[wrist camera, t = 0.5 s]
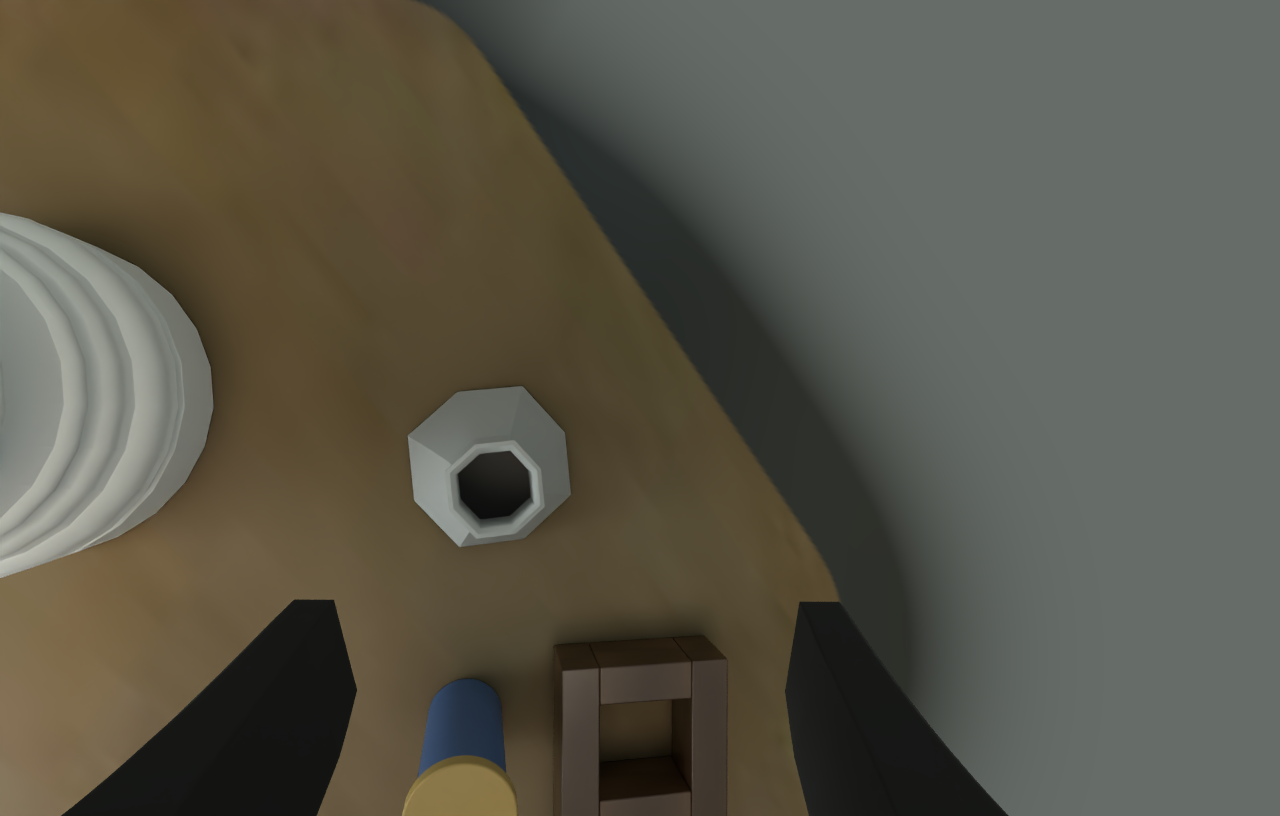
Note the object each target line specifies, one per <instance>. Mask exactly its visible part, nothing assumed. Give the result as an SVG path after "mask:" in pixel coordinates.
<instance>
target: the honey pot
mask: <svg viewBox="0 0 1280 816" xmlns="http://www.w3.org/2000/svg"><path fill="white" fill-rule="evenodd" d="M212 412H213V393H212V378H211V366H210V364H209V361H208V358H207V356H206V353H205V350H204V347H203V345H202V342H201V339H200V337H199V334H198V331H197V329H196V327H195V326H194V324H193V323H192V322H191V320H190V319H189V318H188V316H187V315H186V313H185V312H184V311H183V309H182V308H181V306H180V305H179V304H178V302H177V301H176V299H175V298H174V297H173V295H172V294H171V293H169V292H168V291H167V290H166V289H165V288H163V287H162V286H161V285H160V284H159V283H157V282H156V281H155V280H154V279H152V278H151V277H150V276H149V275H148V274H146V273H145V272H144V271H143V270H142V269H140V268H139V267H138V266H136V265H133V264H131V263H129V262H127V261H125V260H123V259H121V258H119V257H117V256H115V255H113V254H111V253H108V252H106V251H104V250H102V249H100V248H98V247H96V246H93V245H91V244H89V243H86V242H84V241H81V240H79V239H77V238H74V237H72V236H69V235H67V234H65V233H62V232H60V231H57V230H55V229H51V228H49V227H47V226H45V225H41V224H39V223H37V222H35V221H33V220H31V219H28V218H23V217H19V216H14V215H10V214H5V213H1V212H0V578H2V577H5V576H8V575H11V574H14V573H17V572H20V571H23V570H26V569H29V568H32V567H35V566H38V565H41V564H44V563H47V562H50V561H53V560H55V559H58V558H61V557H64V556H67V555H69V554H72V553H75V552H78V551H81V550H84V549H86V548H89V547H92V546H95V545H97V544H100V543H103V542H106V541H108V540H111V539H114V538H117V537H119V536H120V535H122V534H124V533H125V532H127V531H128V530H130V529H132V528H133V527H135V526H136V525H138V524H140V523H141V522H143V521H144V520H146V519H148V518H149V517H151V516H152V515H154V514H156V513H157V512H158V511H159V510H160V508H161V507H162V506H163V505H164V504H165V503H166V502H167V501H168V500H169V499H170V498H171V497H172V496H173V495H174V494H175V493H176V492H177V491H178V490H179V489H180V488H181V486H182V485H183V484H184V483H185V482H186V480H187V478H188V477H189V475H190V473H191V471H192V469H193V467H194V465H195V464H196V462H197V460H198V458H199V456H200V454H201V452H202V451H203V449H204V447H205V443H206V439H207V434H208V430H209V425H210V421H211V416H212Z"/></svg>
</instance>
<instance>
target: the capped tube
mask: <svg viewBox="0 0 1280 816" xmlns="http://www.w3.org/2000/svg"><path fill="white" fill-rule="evenodd" d="M402 816H518V805H517V797H516V792H515V789H514V786H513V784H512V782H511V780H510V778H509V777H508V775H507V774H506V764H505V750H504V736H503V723H502V709H501V703H500V700H499V698H498V696H497V694H496V692H495V691H494V690H493V689H492V688H491V687H490V686H489V685H487V684H486V683H484V682H482V681H479V680H476V679H460V680H456V681H454V682H451V683H449V684H448V685H446V686H445V687H443V688H442V689H441V690H440V691H439V692H438V693H437V694H436V696H435V697H434V699H433V701H432V703H431V705H430V708H429V713H428V719H427V725H426V731H425V737H424V743H423V750H422V756H421V762H420V768H419V774H418V779H417V780H416V781H415V783H414V784H413V785H412V787H411V789H410V791H409V793H408V795H407V798H406V800H405V804H404V809H403V814H402Z"/></svg>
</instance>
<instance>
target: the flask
mask: <svg viewBox="0 0 1280 816" xmlns="http://www.w3.org/2000/svg"><path fill="white" fill-rule="evenodd" d="M408 444H409V454H410V464H411V473H412V483H413V493H414V501H415V502H416V503H417V504H418V505H419V506H420V507H421V508H422V509H423V510H424V511H425V512H426V513H427V514H428V515H429V516H430V517H431V518H432V519H433V520H434V521H435V523H436V524H437V525H438V526H439V527H440V528H441V529H442V530H443V531H444V532H445V533H446V534H447V535H448V536H449V537H450V538H451V539H452V540H453V541H454V542H455V543H456V544H457V545H458V546H459V547H464V546H472V545H480V544H487V543H495V542H503V541H511V540H518V539H524V538H526V537H527V536H528V535H529V534H530V533H531V532H532V531H533V530H534V529H535V528H536V527H537V526H538V525H539V524H540V523H542V522H543V521H544V520H545V519H546V518H547V517H548V516H549V515H550V514H551V513H552V512H553V511H554V510H555V509H556V508H558V507H559V506H560V505H561V504H562V503H563V502H564V501H565V500H566V499H567V498H568V497H569V496H570V495H571V490H570V480H569V469H568V459H567V448H566V438H565V432H564V431H563V430H562V429H561V428H560V427H559V426H558V424H557V423H556V422H555V421H554V420H553V419H552V418H551V417H550V416H549V415H548V414H547V412H546V411H545V410H544V409H543V408H542V407H541V406H540V405H539V404H538V403H537V402H536V400H535V399H534V398H533V397H532V396H531V395H530V394H529V393H528V392H527V391H526V390H525V388H524V387H523V386H517V387H506V388H495V389H483V390H472V391H461V392H457V393H455V394H454V395H453V396H452V397H451V398H450V399H449V400H448V401H446V402H445V403H444V404H443V405H442V406H441V407H440V408H438V409H437V410H436V411H435V412H434V413H433V414H432V415H431V416H429V417H428V418H427V419H426V420H425V421H424V422H423V423H421V424H420V425H419V426H418V427H417V428H416V429H415V430H414V431H412V432H411V433H410V434H409V435H408Z"/></svg>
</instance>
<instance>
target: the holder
mask: <svg viewBox="0 0 1280 816" xmlns="http://www.w3.org/2000/svg"><path fill="white" fill-rule="evenodd" d="M671 699H672V756H665V757H655V758H644V759H634V760H623V761H613V762H602V763H600V705H608V704H620V703H633V702H645V701H658V700H671ZM553 816H727V658H726V657H725V656H724V655H723V654H722V653H721V652H720V651H719V650H718V649H717V648H716V647H715V646H714V645H713V644H712V643H711V642H710V641H709V640H708V639H707V638H706V637H705V636H704V635H703V636H686V637H673V638H657V639H641V640H625V641H609V642H593V643H589V644H588V643H576V644H559V645H554V808H553Z"/></svg>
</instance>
